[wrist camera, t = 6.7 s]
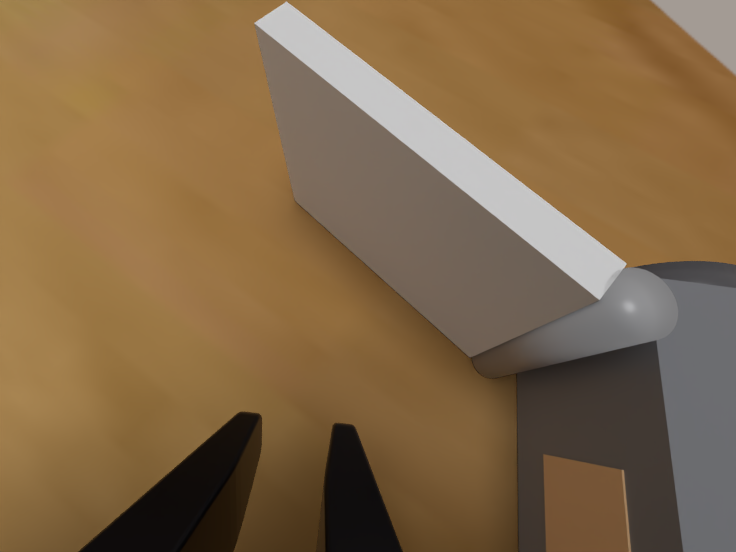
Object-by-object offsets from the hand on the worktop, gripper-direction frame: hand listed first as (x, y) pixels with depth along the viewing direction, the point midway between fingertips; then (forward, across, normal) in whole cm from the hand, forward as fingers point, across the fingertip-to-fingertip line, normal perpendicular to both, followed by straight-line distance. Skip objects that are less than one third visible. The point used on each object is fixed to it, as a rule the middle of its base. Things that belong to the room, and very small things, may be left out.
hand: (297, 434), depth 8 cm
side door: (+9, -2, 0) cm, 9 cm away
